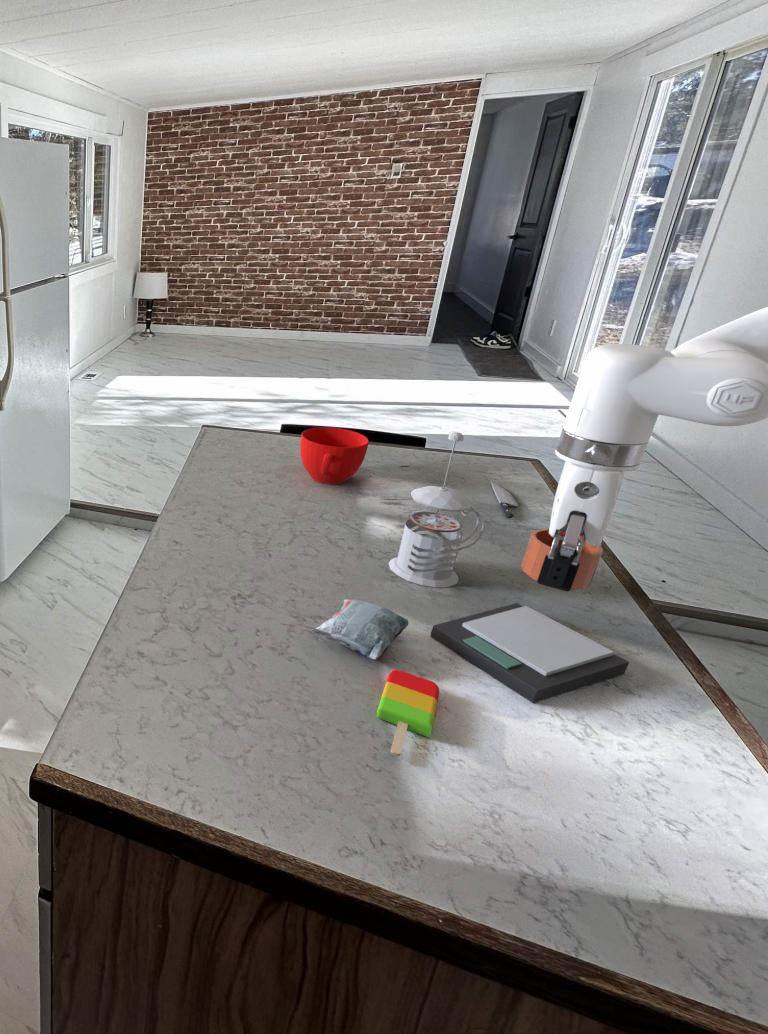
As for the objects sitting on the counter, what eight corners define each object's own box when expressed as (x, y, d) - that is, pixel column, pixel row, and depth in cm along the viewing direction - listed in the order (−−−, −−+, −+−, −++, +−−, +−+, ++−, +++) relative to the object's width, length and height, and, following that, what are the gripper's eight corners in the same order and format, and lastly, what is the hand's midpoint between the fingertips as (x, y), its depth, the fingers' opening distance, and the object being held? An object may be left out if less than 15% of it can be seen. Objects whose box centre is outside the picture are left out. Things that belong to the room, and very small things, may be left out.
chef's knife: (507, 485, 136) (489, 482, 137) (508, 480, 135) (491, 477, 137) (525, 523, 120) (505, 519, 122) (527, 518, 120) (507, 514, 121)
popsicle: (438, 694, 82) (441, 682, 81) (422, 771, 72) (425, 759, 71) (388, 676, 85) (391, 665, 85) (366, 747, 75) (368, 735, 74)
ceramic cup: (287, 490, 139) (293, 447, 135) (300, 463, 152) (306, 423, 148) (355, 502, 132) (363, 458, 128) (363, 473, 145) (371, 432, 141)
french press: (379, 554, 113) (408, 421, 104) (453, 558, 111) (489, 422, 102) (402, 585, 104) (436, 442, 95) (483, 590, 102) (526, 444, 93)
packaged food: (309, 643, 92) (315, 615, 90) (344, 609, 99) (350, 582, 97) (375, 674, 86) (382, 644, 84) (407, 636, 93) (415, 608, 91)
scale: (513, 613, 96) (517, 599, 95) (624, 674, 84) (631, 658, 83) (429, 636, 92) (433, 621, 91) (533, 703, 80) (539, 687, 79)
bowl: (545, 560, 88) (556, 525, 86) (602, 586, 82) (616, 549, 80) (507, 569, 86) (518, 534, 84) (563, 597, 80) (577, 559, 78)
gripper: (643, 479, 69) (591, 615, 76) (643, 434, 80) (597, 556, 87) (551, 463, 74) (510, 592, 80) (563, 423, 85) (526, 539, 92)
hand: (556, 573), depth 84 cm, fingers closed on bowl, 7 cm apart
